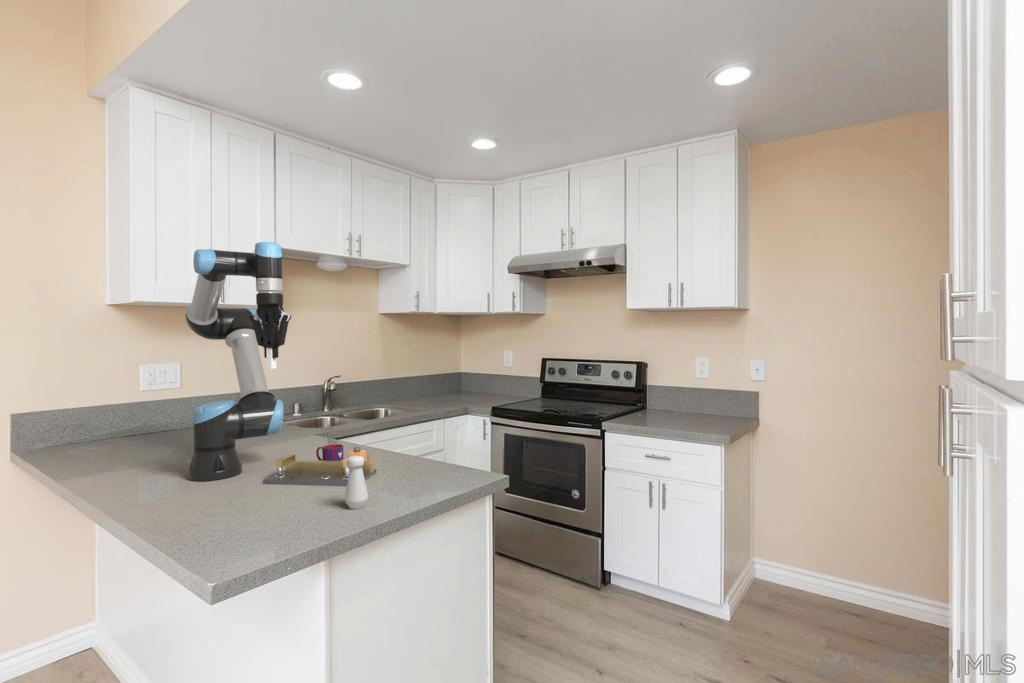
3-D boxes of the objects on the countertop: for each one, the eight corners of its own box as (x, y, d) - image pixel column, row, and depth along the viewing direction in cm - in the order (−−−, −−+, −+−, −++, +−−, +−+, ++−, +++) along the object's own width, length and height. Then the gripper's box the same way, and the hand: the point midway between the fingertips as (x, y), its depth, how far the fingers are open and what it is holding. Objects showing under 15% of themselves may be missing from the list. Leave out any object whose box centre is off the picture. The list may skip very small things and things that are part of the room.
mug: (333, 469, 169) (332, 449, 169) (311, 466, 173) (310, 446, 173) (348, 464, 175) (347, 445, 175) (326, 462, 179) (325, 442, 179)
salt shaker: (360, 501, 137) (358, 452, 137) (372, 505, 133) (371, 456, 133) (340, 507, 133) (339, 457, 132) (353, 512, 129) (352, 460, 129)
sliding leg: (340, 476, 155) (339, 453, 154) (354, 468, 164) (353, 446, 164) (352, 477, 154) (352, 453, 154) (366, 468, 164) (365, 446, 163)
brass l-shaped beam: (272, 476, 158) (272, 460, 158) (289, 468, 167) (289, 453, 166) (362, 478, 154) (361, 462, 154) (374, 470, 163) (373, 454, 162)
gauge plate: (263, 483, 155) (263, 479, 154) (289, 470, 168) (289, 466, 168) (357, 486, 150) (357, 481, 150) (376, 472, 164) (376, 468, 164)
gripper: (242, 292, 156) (244, 369, 157) (281, 291, 154) (284, 369, 155) (257, 294, 164) (260, 367, 164) (295, 293, 162) (297, 367, 162)
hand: (271, 368), depth 160 cm, fingers closed
